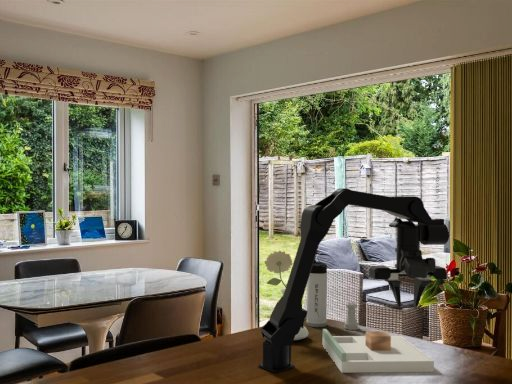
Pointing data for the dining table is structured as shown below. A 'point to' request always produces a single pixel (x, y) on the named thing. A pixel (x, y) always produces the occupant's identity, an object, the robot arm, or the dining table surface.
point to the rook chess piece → (351, 317)
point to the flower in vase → (280, 264)
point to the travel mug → (317, 295)
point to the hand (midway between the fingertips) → (407, 306)
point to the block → (378, 340)
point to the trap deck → (375, 355)
